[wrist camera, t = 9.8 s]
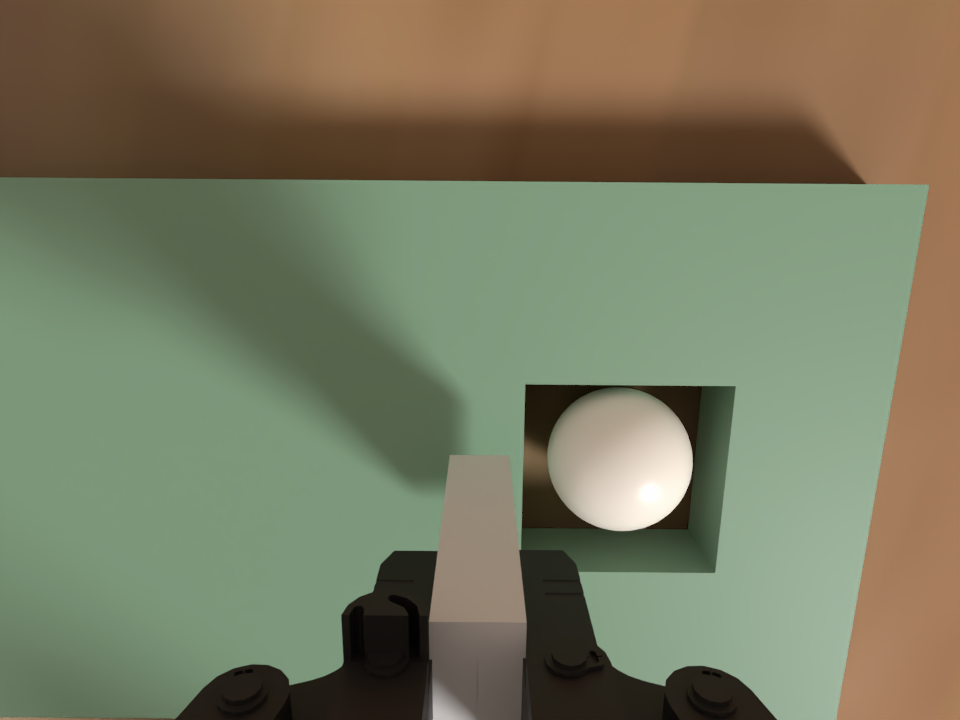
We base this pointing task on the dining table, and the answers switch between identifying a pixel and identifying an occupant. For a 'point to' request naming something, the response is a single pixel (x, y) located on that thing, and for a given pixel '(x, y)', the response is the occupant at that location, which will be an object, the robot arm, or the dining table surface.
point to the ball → (620, 459)
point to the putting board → (425, 414)
